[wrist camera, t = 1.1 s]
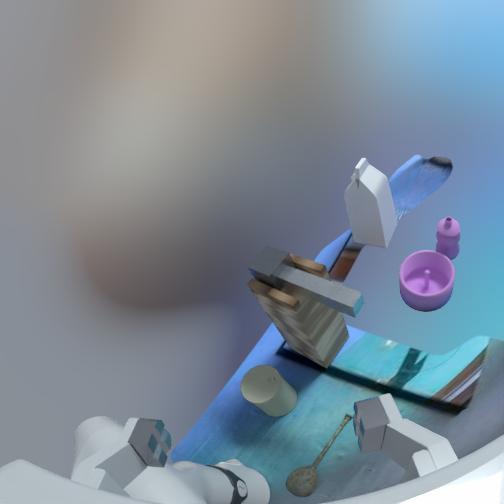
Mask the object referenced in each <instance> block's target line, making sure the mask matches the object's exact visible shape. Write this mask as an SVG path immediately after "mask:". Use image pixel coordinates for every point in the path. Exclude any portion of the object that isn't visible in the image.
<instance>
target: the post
mask: <svg viewBox="0 0 504 504" xmlns="http://www.w3.org/2000/svg"><path fill="white" fill-rule="evenodd" d="M290 256H291V258H292V260H293V262H294V264H295V266H296V268H297V269H298V270H301V271H304V272H306V273H309V274H312V275H315V276H317V277H320V278H323V279H326V280H329V281H331V280H330V277H329V274H328V272H327V270H326V267H325V265H323V264H320V263H317V262H314V261H311V260H308V259H305V258H301V257H298V256H295V255H292V254H290ZM248 286H249V287H250V289H251V291H252V293H253V294H254V296H255V297H256V299H257V300H258V302H259V303H260V304H261V306H262V307H263V309H264V310H265V312H266V313H267V315H268V316H269V318H270V319H271V320H272V322H273V323H274V325H275V326H276V328H277V329H278V331H279V332H280V333H281V335H282V336H283V338H284V339H285V341H286V342H287V344H288V345H289V346H290V348H291V349H293V350H295V351H297V352H298V353H300V354H302V355H303V356H305V357H307V358H309V359H311V360H312V361H314V362H316V363H318V364H319V365H321V366H323V367H325V368H328V366H329V365H330V364H331V362H332V361H333V359H334V358H335V357H336V355H337V354H338V352H339V351H340V350H341V348H342V347H343V345H344V344H345V342H346V341H347V339H348V338H349V337H350V336H349V333H348V330H347V327H346V324H345V321H344V318H343V315H342V312H340V311H338V310H335V309H333V308H331V307H328V306H326V305H323V304H321V303H319V302H316V301H314V300H312V299H309V298H307V297H305V296H302V295H300V294H298V293H295V292H293V291H291V290H289V289H286V288H284V287H283V289H282V290H281V291H278V290H276V289H274V288H272V287H269V286H267V285H265V284H263V283H261V282H258V281H256V280H254V279H251V280H250V282H249V283H248Z"/></svg>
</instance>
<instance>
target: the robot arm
mask: <svg viewBox="0 0 504 504" xmlns="http://www.w3.org/2000/svg"><path fill="white" fill-rule="evenodd" d="M354 412H355V414H354V415H353V426H354V431H355V435H356V436H358V445H359V449H360V452H361V455H362V454H366V453H370V452H374V451H378V450H381V451H382V452H383V453H384V454H386V455H387V456H388V457H390V458H391V459H392V460H394V461H395V462H396V463H398V464H399V465H400V466H402V467H403V468H404V469H406V472H405V475H404V477H403V479H402V481H401V483H400V484H399V485H395V486H392V487H389V488H386V489H383V490H379V491H376V492H372V493H368V494H364V495H360V496H356V497H352V498H347V499H342V500H337V501H332V502H327V503H321V504H504V434H503V435H502V436H500V437H499V438H497V439H496V440H494V441H492V442H491V443H489V444H487V445H485V446H484V447H482V448H480V449H478V450H477V451H475V452H473V453H471V454H469V455H467V456H465V457H463V458H461V459H459V460H458V459H457V457H456V455H455V453H454V451H453V449H452V447H451V445H450V443H449V441H448V440H447V439H446V438H444V437H442V436H439V435H437V434H435V433H433V432H431V431H429V430H427V429H425V428H423V427H421V426H419V425H417V424H416V423H414V422H412V421H410V420H408V419H402V417H401V415H400V413H399V411H398V408H397V406H396V404H395V402H394V400H393V398H392V396H391V394H389V393H388V394H385V395H381V396H378V397H373V398H370V399H366V400H362V401H358V402H354ZM170 447H171V436H170V434H169V432H168V431H167V430H165V429H164V423H163V422H162V420H154V419H144V418H133V417H131V418H130V419H128V421H127V423H126V425H125V427H124V426H123V425H121V424H120V423H118V422H116V421H115V420H114V419H112V418H109V417H104V416H97V417H93V418H90V419H87V420H86V421H84V422H83V423H81V424H80V425H79V427H78V428H77V430H76V432H75V435H74V460H73V465H72V470H71V474H70V478H69V479H67V478H64V477H62V476H59V475H57V474H54V473H52V472H50V471H47V470H45V469H43V468H41V467H38V466H36V465H34V464H32V463H30V462H28V461H26V460H23V459H18V460H15V461H13V462H11V463H9V464H7V465H5V466H3V467H1V468H0V504H268V502H269V499H270V490H269V486H268V483H267V481H266V480H265V478H264V477H263V476H262V475H261V474H260V473H258V472H257V471H255V470H253V469H251V468H248V467H246V466H244V465H243V464H242V463H241V462H240V461H239V460H237V459H231V460H229V461H226V462H220V463H219V464H217V465H201V464H197V463H193V462H189V461H180V462H176V463H174V464H172V465H169V464H168V463H166V460H167V455H166V452H168V451H169V450H170Z"/></svg>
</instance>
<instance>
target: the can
mask: <svg viewBox="0 0 504 504" xmlns="http://www.w3.org/2000/svg"><path fill="white" fill-rule="evenodd" d="M241 392H242V395H243V396H244V398H245V399H246V400H248V401H249V402H251V403H253V404H254V405H256V406H257V407H259V408H260V409H262V410H263V411H264V412H265V413H266V414H268V415H270V416H273V417H280V416H284V415H286V414H288V413H289V412H290V411H291V410H292V409H293V408H294V406H295V404H296V401H297V393H296V391H295V389H294V388H293V387H292V386H291V385H290V384H289V383H288V382H287V381H286V380H285V379H284V378H283V377H282V376H281V375H280V374H279V372H278V371H277V370H276V369H275V368H274V367H272V366H269V365H259V366H256V367H254V368H252V369H251V370H249V371H248V372H247V373H246V374H245V376H244V377H243V379H242V382H241Z"/></svg>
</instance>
